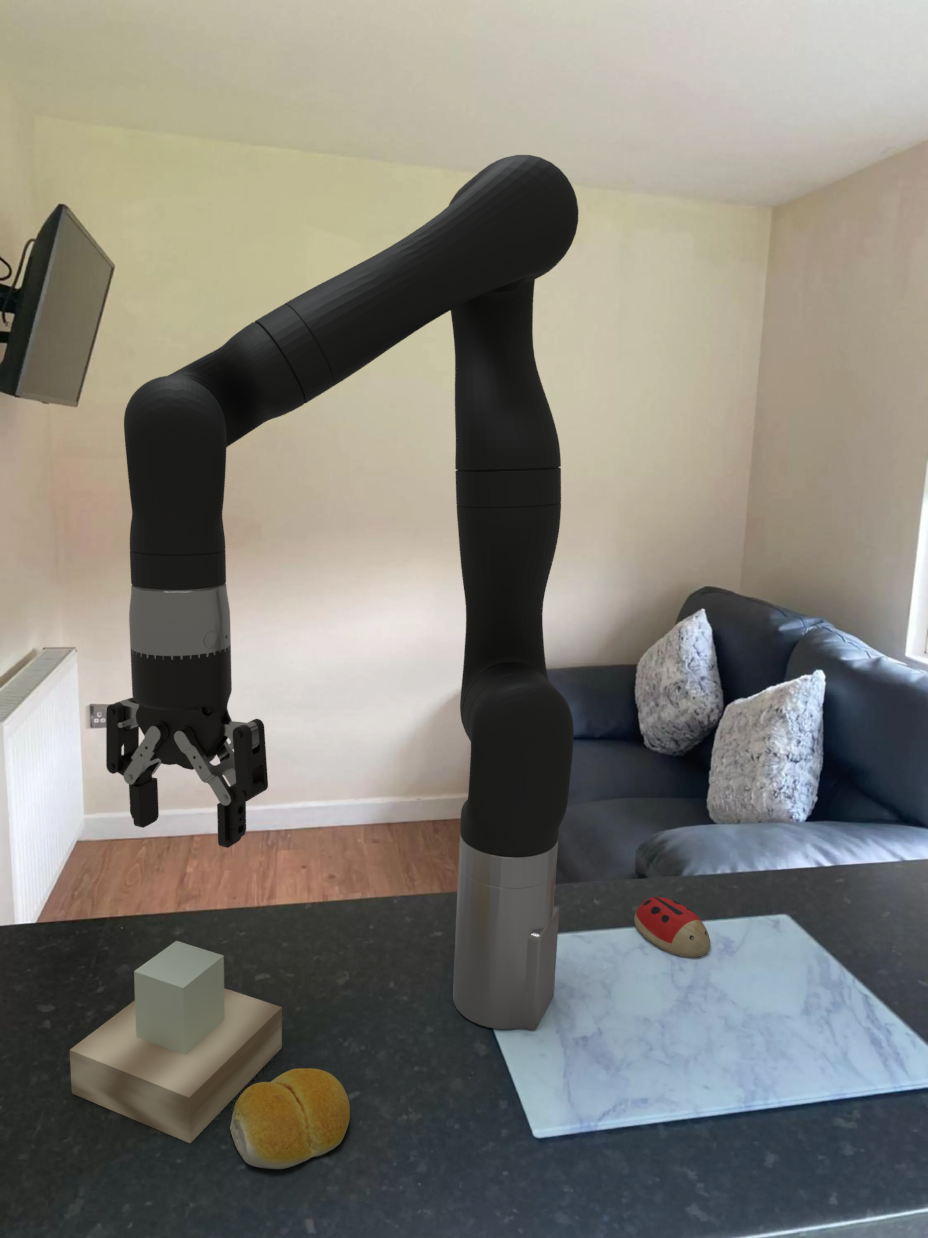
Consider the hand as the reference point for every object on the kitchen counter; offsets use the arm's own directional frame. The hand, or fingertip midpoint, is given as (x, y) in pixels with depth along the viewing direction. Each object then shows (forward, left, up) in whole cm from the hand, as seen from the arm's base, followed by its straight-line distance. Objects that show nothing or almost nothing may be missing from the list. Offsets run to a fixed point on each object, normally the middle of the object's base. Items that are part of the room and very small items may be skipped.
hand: (187, 833), depth 71 cm
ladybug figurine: (-34, -39, -21) cm, 56 cm away
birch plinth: (0, +2, -21) cm, 21 cm away
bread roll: (-12, +3, -21) cm, 25 cm away
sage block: (0, +2, -17) cm, 17 cm away
